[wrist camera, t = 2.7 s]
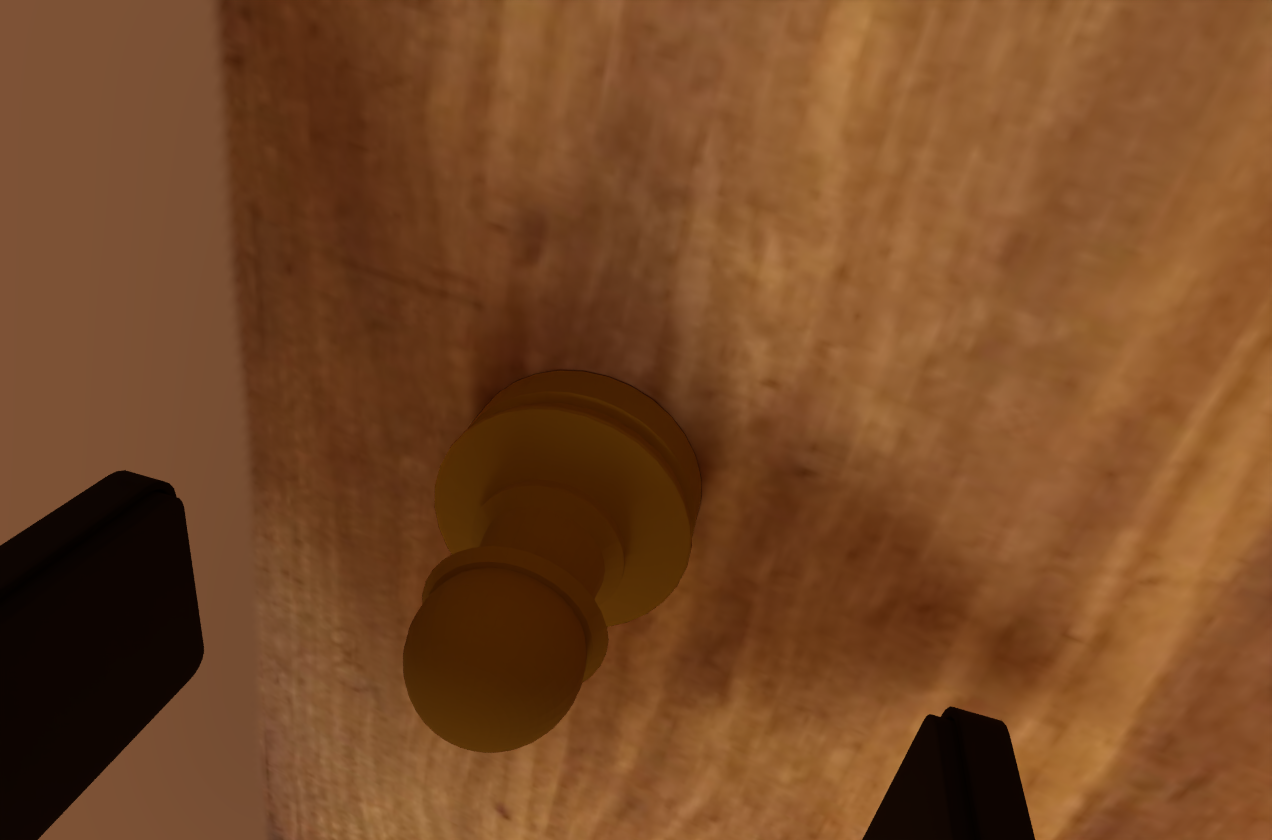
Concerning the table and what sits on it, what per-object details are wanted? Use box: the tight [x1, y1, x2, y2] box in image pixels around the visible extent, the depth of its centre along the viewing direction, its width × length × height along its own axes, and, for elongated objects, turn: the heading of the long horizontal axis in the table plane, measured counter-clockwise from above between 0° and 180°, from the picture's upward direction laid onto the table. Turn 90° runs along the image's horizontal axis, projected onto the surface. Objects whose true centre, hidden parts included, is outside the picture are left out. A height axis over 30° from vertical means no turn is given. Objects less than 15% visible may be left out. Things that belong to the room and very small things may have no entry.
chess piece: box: [403, 370, 701, 753], centre depth 11 cm, size 4×4×5 cm
